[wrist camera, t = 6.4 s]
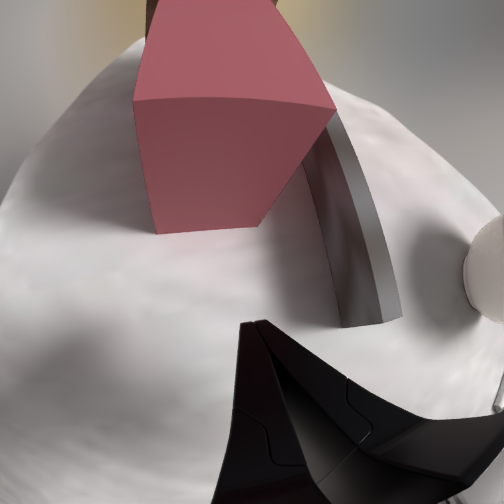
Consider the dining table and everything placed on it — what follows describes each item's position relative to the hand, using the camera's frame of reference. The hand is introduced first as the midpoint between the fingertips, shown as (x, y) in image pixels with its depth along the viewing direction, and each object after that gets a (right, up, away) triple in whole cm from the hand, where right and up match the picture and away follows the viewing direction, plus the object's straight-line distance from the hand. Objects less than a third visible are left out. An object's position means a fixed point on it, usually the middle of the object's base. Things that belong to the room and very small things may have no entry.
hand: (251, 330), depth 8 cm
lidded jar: (+23, -1, +13) cm, 26 cm away
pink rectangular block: (-4, +10, +9) cm, 14 cm away
